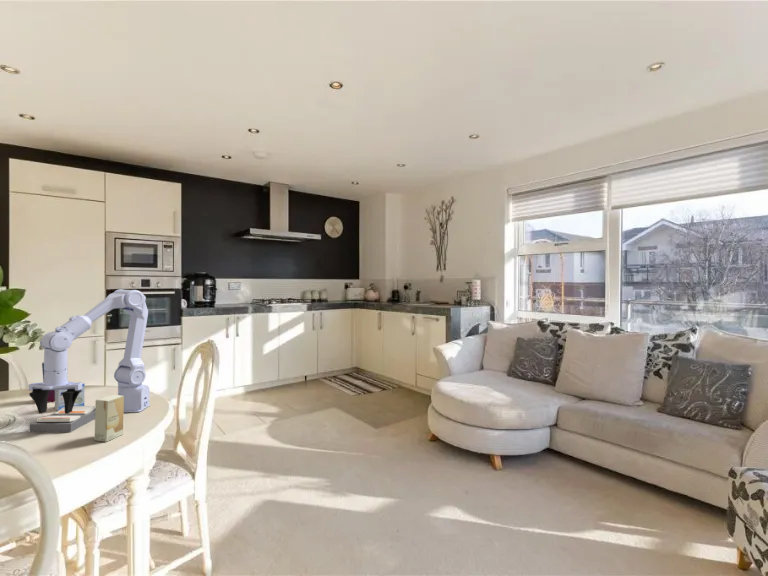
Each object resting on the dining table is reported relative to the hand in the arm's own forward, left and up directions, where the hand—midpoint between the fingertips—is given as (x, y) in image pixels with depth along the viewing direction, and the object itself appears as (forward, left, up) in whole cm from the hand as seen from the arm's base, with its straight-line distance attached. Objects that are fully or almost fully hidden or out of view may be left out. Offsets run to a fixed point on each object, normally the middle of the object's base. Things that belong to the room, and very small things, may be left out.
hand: (55, 412), depth 123 cm
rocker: (0, -2, -3) cm, 3 cm away
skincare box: (-20, +7, -6) cm, 22 cm away
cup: (+22, -30, -6) cm, 38 cm away
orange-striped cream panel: (0, -9, -3) cm, 9 cm away
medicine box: (+10, -21, -6) cm, 24 cm away
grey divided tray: (0, -5, -5) cm, 8 cm away
